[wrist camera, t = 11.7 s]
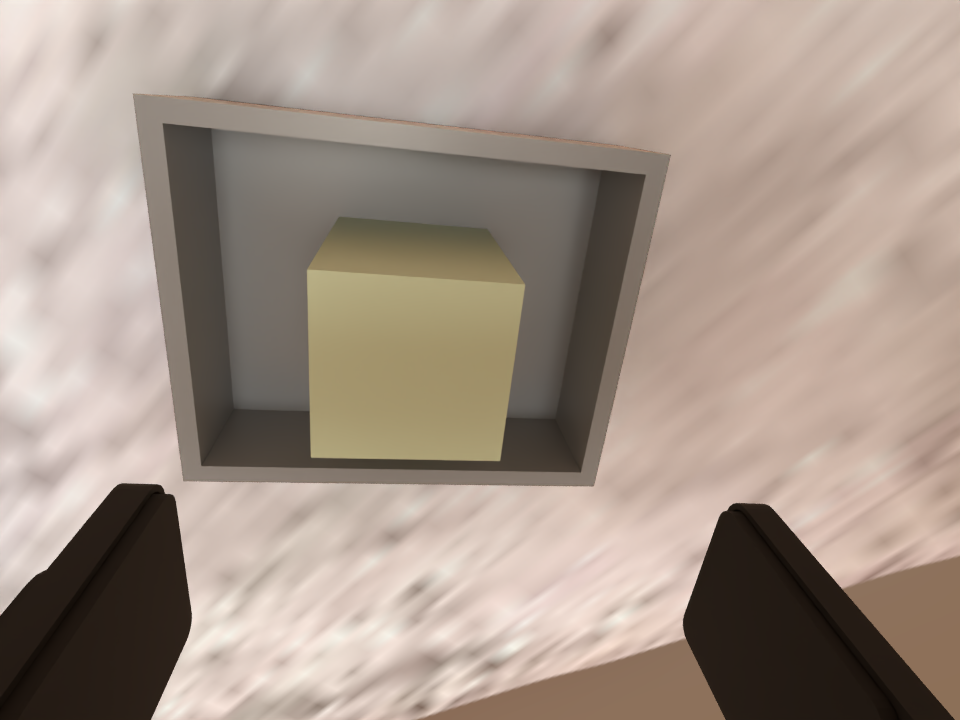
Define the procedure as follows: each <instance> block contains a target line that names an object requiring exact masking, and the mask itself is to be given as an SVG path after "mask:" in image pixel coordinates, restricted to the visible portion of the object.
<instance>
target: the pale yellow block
mask: <svg viewBox="0 0 960 720" xmlns="http://www.w3.org/2000/svg"><path fill="white" fill-rule="evenodd" d="M524 290H525V283H524V282H523V280H522V279H521V278H520V276H519V275H518V273H517V272H516V270H515V269H514V267H513V266H512V264H511V263H510V261H509V260H508V259H507V257H506V256H505V254H504V253H503V251H502V250H501V248H500V247H499V245H498V244H497V242H496V241H495V240H494V238H493V237H492V235H491V234H490V232H489V231H488V229H480V228H468V227H456V226H445V225H433V224H421V223H409V222H397V221H385V220H373V219H361V218H350V217H339V218H338V219H337V221H336V222H335V224H334V226H333V227H332V229H331V231H330V232H329V234H328V236H327V237H326V239H325V241H324V242H323V244H322V246H321V247H320V249H319V251H318V252H317V254H316V255H315V257H314V259H313V260H312V262H311V264H310V265H309V267H308V269H307V295H308V345H309V394H310V443H311V458H356V459H412V460H467V461H500V458H501V451H502V444H503V437H504V430H505V423H506V416H507V409H508V402H509V395H510V388H511V381H512V374H513V367H514V360H515V353H516V346H517V339H518V332H519V325H520V318H521V311H522V304H523V297H524Z"/></svg>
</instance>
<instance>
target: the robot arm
mask: <svg viewBox="0 0 960 720" xmlns="http://www.w3.org/2000/svg"><path fill="white" fill-rule="evenodd" d="M191 621H192V612H191V605H190V598H189V591H188V584H187V577H186V570H185V563H184V556H183V549H182V542H181V535H180V528H179V521H178V514H177V507H176V501H175V497H174V496H173V495H171V494H165V492H164V489H163V488H162V486H161V485H158V484H127V483H122V484H119V485H117V486H116V487H115V488H114V489H113V490H112V491H111V492H110V493H109V495H108V496H107V497H106V498H105V500H104V501H103V502H102V503H101V504H100V506H99V507H98V508H97V509H96V510H95V512H94V513H93V514H92V515H91V517H90V518H89V519H88V520H87V521H86V523H85V524H84V525H83V526H82V528H81V529H80V530H79V531H78V532H77V534H76V535H75V536H74V537H73V538H72V540H71V541H70V542H69V543H68V545H67V546H66V547H65V548H64V549H63V551H62V552H61V553H60V554H59V556H58V557H57V558H56V559H55V560H54V562H53V563H52V564H51V565H50V567H49V568H48V569H47V570H45V571H43V572H41V573H39V574H37V575H36V576H35V577H34V578H33V579H32V580H31V581H30V582H29V583H28V584H27V585H26V586H25V587H24V588H23V589H22V591H21V592H20V593H19V594H18V595H17V597H16V598H15V599H14V600H13V601H12V603H11V604H10V605H9V606H8V607H7V608H6V610H5V611H4V612H3V613H2V614H1V616H0V720H151V718H152V716H153V714H154V712H155V710H156V707H157V705H158V703H159V701H160V698H161V696H162V694H163V692H164V690H165V687H166V685H167V683H168V681H169V678H170V676H171V674H172V672H173V670H174V667H175V665H176V663H177V661H178V658H179V656H180V654H181V652H182V650H183V647H184V645H185V643H186V641H187V638H188V635H189V632H190V628H191ZM683 629H684V634H685V637H686V639H687V641H688V644H689V646H690V647H691V650H692V651H693V654H694V656H695V658H696V660H697V662H698V664H699V666H700V668H701V670H702V672H703V674H704V676H705V678H706V680H707V682H708V685H709V686H710V689H711V691H712V693H713V695H714V697H715V699H716V701H717V703H718V705H719V707H720V709H721V711H722V713H723V715H724V717H725V719H726V720H954V718H953V717H952V716H951V715H950V714H949V713H948V711H947V710H946V709H945V708H944V707H943V706H942V704H941V703H940V702H939V701H938V700H937V699H936V697H935V696H934V695H933V694H932V693H931V692H930V690H929V689H928V688H927V687H926V686H925V685H924V684H923V682H922V681H921V680H920V679H919V678H918V677H917V675H916V674H915V673H914V672H913V671H912V670H911V669H910V667H909V666H908V665H907V664H906V663H905V662H904V660H903V659H902V658H901V657H900V656H899V655H898V653H897V652H896V651H895V650H894V649H893V648H892V646H891V645H890V644H889V643H888V642H887V641H886V640H885V638H884V637H883V636H882V635H881V634H880V633H879V631H878V630H877V629H876V628H875V627H874V626H873V624H872V623H871V622H870V621H869V620H868V619H867V618H866V616H865V615H864V614H863V613H862V612H861V611H860V610H859V608H858V607H857V606H856V605H855V604H854V603H853V601H852V600H851V599H850V598H849V597H848V596H847V594H846V593H845V592H844V591H843V590H842V589H841V587H840V586H839V585H838V584H837V583H836V582H835V580H834V579H833V578H832V577H831V576H830V575H829V573H828V572H827V571H826V570H825V569H824V568H823V566H822V565H821V564H820V563H819V562H818V561H817V560H816V558H815V557H814V556H813V555H812V554H811V553H810V551H809V550H808V549H807V548H806V547H805V546H804V544H803V543H802V542H801V541H800V540H799V539H798V538H797V536H796V535H795V534H794V533H793V532H792V531H791V529H790V528H789V527H788V526H787V525H786V524H785V522H784V521H783V520H782V519H781V518H780V517H779V515H778V514H777V513H776V512H775V511H774V510H773V509H772V508H771V507H770V506H768V505H765V504H747V503H735V504H732V505H731V506H730V507H729V509H728V510H727V511H724V512H723V513H721V515H720V517H719V519H718V522H717V525H716V528H715V530H714V533H713V536H712V539H711V542H710V544H709V547H708V550H707V553H706V556H705V558H704V561H703V564H702V567H701V570H700V572H699V575H698V578H697V581H696V584H695V586H694V589H693V592H692V595H691V597H690V600H689V603H688V606H687V609H686V611H685V614H684V618H683Z"/></svg>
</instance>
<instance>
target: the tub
mask: <svg viewBox="0 0 960 720" xmlns="http://www.w3.org/2000/svg"><path fill="white" fill-rule="evenodd" d="M133 98H134V105H135V113H136V121H137V128H138V136H139V144H140V151H141V159H142V167H143V175H144V182H145V190H146V198H147V205H148V213H149V221H150V228H151V236H152V244H153V251H154V259H155V267H156V274H157V282H158V290H159V297H160V305H161V313H162V320H163V328H164V336H165V343H166V351H167V359H168V367H169V374H170V382H171V390H172V397H173V405H174V413H175V420H176V428H177V436H178V443H179V451H180V459H181V466H182V474H183V481H211V482H290V483H368V484H446V485H524V486H594V483H595V479H596V475H597V470H598V466H599V462H600V457H601V453H602V449H603V445H604V440H605V436H606V432H607V427H608V423H609V419H610V414H611V410H612V406H613V401H614V397H615V393H616V388H617V384H618V380H619V376H620V371H621V367H622V363H623V358H624V354H625V350H626V345H627V341H628V337H629V332H630V328H631V324H632V320H633V315H634V311H635V307H636V302H637V298H638V294H639V289H640V285H641V281H642V276H643V272H644V268H645V263H646V259H647V255H648V251H649V246H650V242H651V238H652V233H653V229H654V225H655V220H656V216H657V212H658V207H659V203H660V199H661V195H662V190H663V186H664V182H665V177H666V173H667V169H668V164H669V160H670V156H671V155H669V154H664V153H658V152H652V151H646V150H641V149H635V148H629V147H624V146H618V145H609V144H600V143H591V142H583V141H574V140H565V139H557V138H548V137H539V136H530V135H522V134H513V133H504V132H495V131H487V130H478V129H469V128H461V127H452V126H443V125H434V124H426V123H417V122H408V121H400V120H391V119H382V118H373V117H365V116H356V115H347V114H338V113H330V112H321V111H312V110H304V109H295V108H286V107H277V106H269V105H260V104H251V103H242V102H234V101H225V100H216V99H208V98H199V97H186V96H168V95H149V94H133ZM339 217H350V218H361V219H373V220H385V221H397V222H409V223H421V224H433V225H445V226H456V227H468V228H480V229H488V231H489V232H490V234H491V235H492V237H493V238H494V240H495V241H496V242H497V244H498V245H499V247H500V248H501V250H502V251H503V253H504V254H505V256H506V257H507V259H508V260H509V261H510V263H511V264H512V266H513V267H514V269H515V270H516V272H517V273H518V275H519V276H520V278H521V279H522V280H523V282H524V283H525V290H524V297H523V304H522V311H521V318H520V325H519V332H518V339H517V346H516V353H515V360H514V367H513V374H512V381H511V388H510V395H509V402H508V409H507V416H506V423H505V430H504V437H503V444H502V451H501V458H500V461H467V460H412V459H356V458H311V443H310V394H309V345H308V295H307V269H308V267H309V265H310V264H311V262H312V260H313V259H314V257H315V255H316V254H317V252H318V251H319V249H320V247H321V246H322V244H323V242H324V241H325V239H326V237H327V236H328V234H329V232H330V231H331V229H332V227H333V226H334V224H335V222H336V221H337V219H338V218H339Z"/></svg>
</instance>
